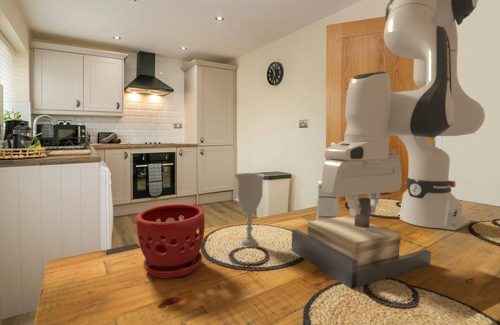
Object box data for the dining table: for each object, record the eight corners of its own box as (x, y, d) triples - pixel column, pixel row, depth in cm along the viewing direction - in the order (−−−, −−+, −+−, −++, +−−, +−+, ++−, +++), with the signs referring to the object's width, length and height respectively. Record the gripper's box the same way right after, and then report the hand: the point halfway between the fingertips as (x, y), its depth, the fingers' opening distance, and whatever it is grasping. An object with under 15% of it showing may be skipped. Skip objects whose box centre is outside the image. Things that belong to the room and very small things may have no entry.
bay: (360, 241, 75) (362, 218, 74) (429, 270, 58) (431, 242, 58) (291, 255, 65) (292, 230, 64) (350, 295, 49) (352, 261, 48)
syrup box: (337, 235, 79) (340, 184, 78) (316, 233, 80) (318, 183, 79) (335, 228, 84) (337, 180, 83) (315, 227, 86) (317, 180, 84)
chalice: (241, 256, 64) (242, 177, 63) (229, 245, 70) (230, 174, 69) (269, 250, 68) (270, 176, 66) (255, 241, 74) (256, 172, 72)
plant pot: (152, 254, 65) (151, 202, 64) (209, 255, 64) (209, 204, 63) (125, 283, 52) (123, 220, 51) (197, 285, 51) (196, 221, 50)
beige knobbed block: (346, 243, 70) (349, 191, 68) (398, 267, 57) (402, 204, 56) (306, 251, 64) (308, 195, 63) (354, 280, 52) (357, 210, 51)
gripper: (386, 149, 67) (383, 206, 69) (318, 149, 58) (315, 215, 60) (411, 150, 62) (407, 212, 63) (340, 151, 53) (337, 223, 54)
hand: (362, 213), depth 61 cm, fingers closed on beige knobbed block, 3 cm apart
